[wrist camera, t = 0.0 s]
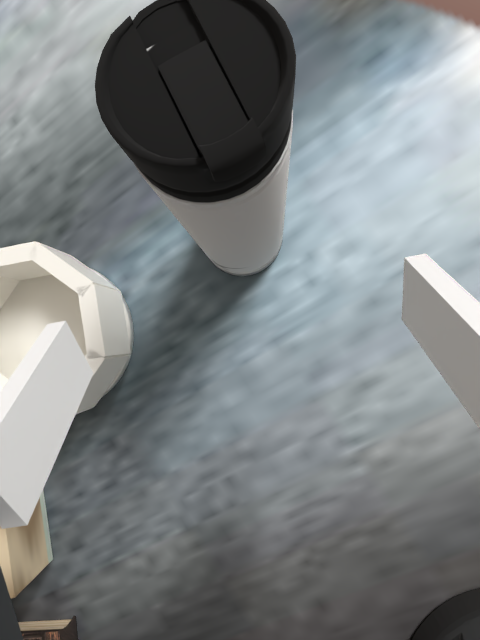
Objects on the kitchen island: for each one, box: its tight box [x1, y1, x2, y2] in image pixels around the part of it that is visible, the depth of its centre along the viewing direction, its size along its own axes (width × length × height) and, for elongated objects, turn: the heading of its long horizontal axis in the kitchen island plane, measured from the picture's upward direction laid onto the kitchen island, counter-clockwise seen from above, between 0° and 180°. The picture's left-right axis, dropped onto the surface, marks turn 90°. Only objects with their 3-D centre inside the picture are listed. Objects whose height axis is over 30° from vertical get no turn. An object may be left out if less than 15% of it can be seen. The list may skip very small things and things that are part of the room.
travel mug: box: [95, 0, 296, 276], centre depth 21 cm, size 6×7×20 cm
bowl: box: [0, 241, 134, 415], centre depth 29 cm, size 12×12×6 cm
